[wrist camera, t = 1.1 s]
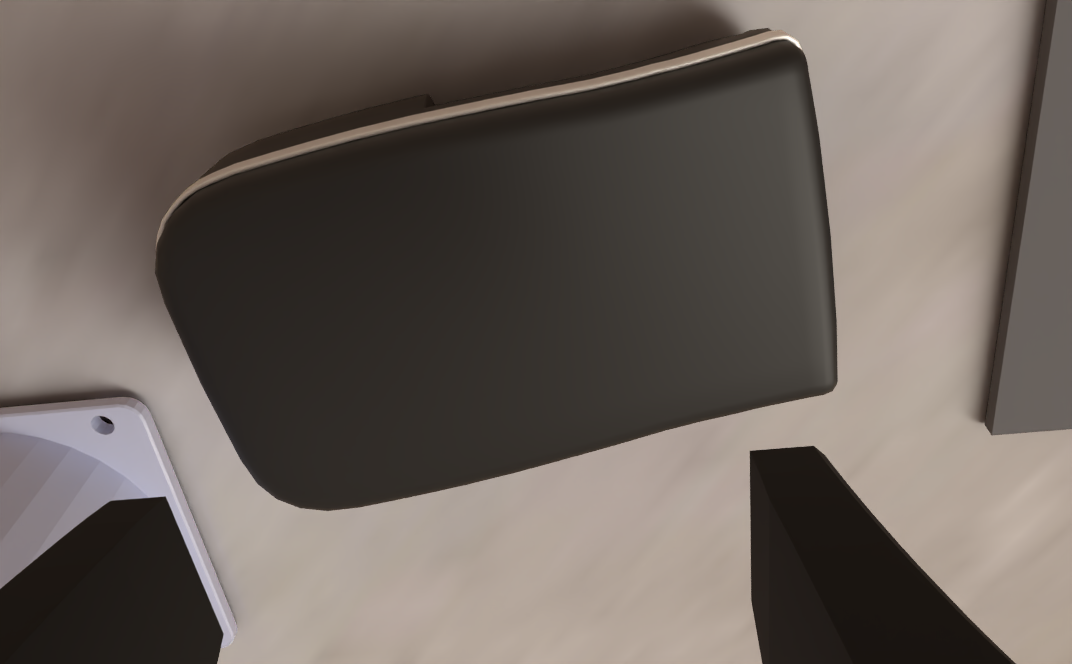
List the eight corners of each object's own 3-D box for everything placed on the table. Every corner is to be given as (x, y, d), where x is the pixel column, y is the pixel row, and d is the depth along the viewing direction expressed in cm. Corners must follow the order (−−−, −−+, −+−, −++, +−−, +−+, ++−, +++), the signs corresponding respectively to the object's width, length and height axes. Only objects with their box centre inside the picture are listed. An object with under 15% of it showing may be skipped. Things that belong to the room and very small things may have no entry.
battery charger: (754, -11, 17) (170, 140, 18) (823, 25, 14) (102, 211, 15) (792, 312, 21) (298, 431, 21) (855, 405, 17) (267, 543, 18)
